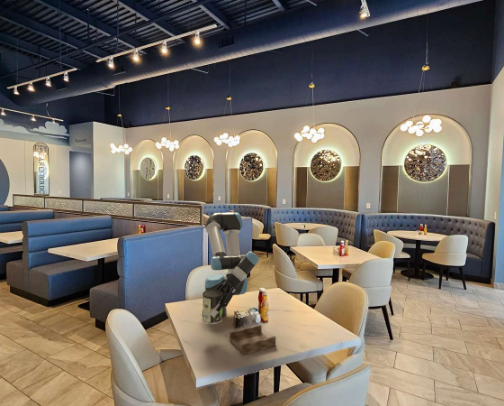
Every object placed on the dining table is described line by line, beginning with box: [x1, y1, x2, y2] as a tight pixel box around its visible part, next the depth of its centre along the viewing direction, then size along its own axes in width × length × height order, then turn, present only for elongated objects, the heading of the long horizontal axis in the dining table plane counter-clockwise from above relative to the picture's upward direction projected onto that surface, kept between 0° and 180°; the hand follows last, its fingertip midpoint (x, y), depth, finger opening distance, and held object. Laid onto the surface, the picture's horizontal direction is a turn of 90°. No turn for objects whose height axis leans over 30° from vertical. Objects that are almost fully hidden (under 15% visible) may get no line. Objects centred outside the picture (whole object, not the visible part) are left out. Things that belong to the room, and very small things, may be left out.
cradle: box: [229, 324, 277, 356], centre depth 149 cm, size 18×15×4 cm
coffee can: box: [202, 290, 223, 325], centre depth 152 cm, size 10×10×14 cm
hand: (208, 311), depth 151 cm, fingers closed on coffee can, 10 cm apart
